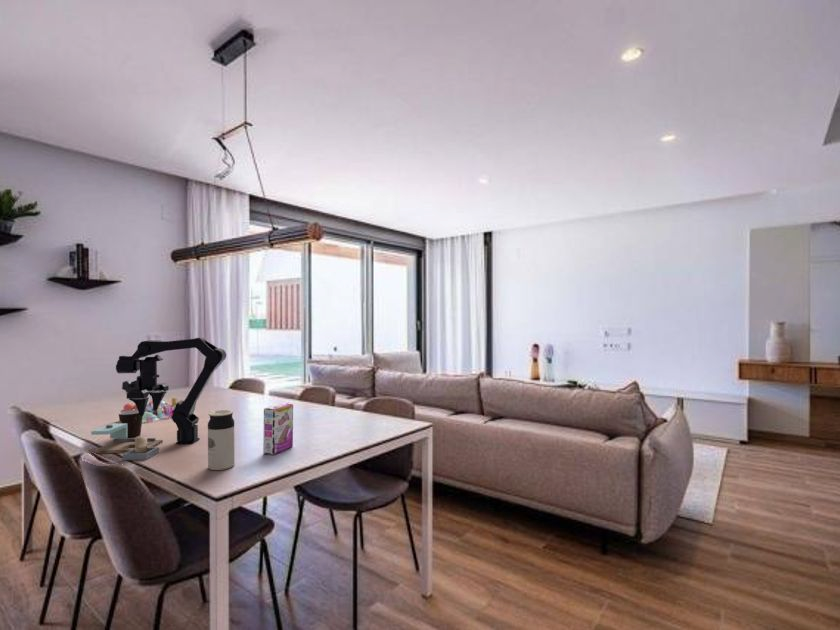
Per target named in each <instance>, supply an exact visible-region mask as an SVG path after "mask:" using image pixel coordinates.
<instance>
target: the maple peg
mask: <svg viewBox="0 0 840 630" xmlns="http://www.w3.org/2000/svg"><path fill="white" fill-rule="evenodd" d="M147 438H148V436H144V435H142V436H141V435H140V436H139V437H135V447H134V448H135V454H139V453H147Z"/></svg>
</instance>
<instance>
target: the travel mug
mask: <svg viewBox="0 0 840 630" xmlns="http://www.w3.org/2000/svg"><path fill="white" fill-rule="evenodd" d="M233 413H234V410H233V409H219V410H212V411H210V412H209V413H208V416H209V421H208V422H207V469H209V470H211V471H222V470H223V471H224V470H228V469H231V468H232V467H233V466H235V464H236V463H235V460H236V459H235V453H236V452H235V419H234V417H233Z"/></svg>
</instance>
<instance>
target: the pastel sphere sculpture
mask: <svg viewBox="0 0 840 630" xmlns="http://www.w3.org/2000/svg"><path fill="white" fill-rule="evenodd" d="M177 400H178V398H177V397H172V398H171V403H169V402H168V401H164V400H162V401H161V403H160V405H159V407H158V409H157V410H156V411H154V409H153V402H152V400H150V402H148V403H147V406H146V409H145V413H144V415H143V418H142V424H145V423H144V422H150V423H154V422H153V421H156V422H159V421H161V419H162V420H170V419H169V418H171V419H172V414H173V413H171V412H172V411H173V410H174V409H175V406H176V404H177V403H178V402H180V401H182V400H183V399H181V400H179V401H177ZM129 410H138V409H137V407H136V405H135V404H134V405H133V403H130V402H129V403H126V404H124V406H123V409H121V410H120V412H123V411H129ZM158 420H159V421H158Z"/></svg>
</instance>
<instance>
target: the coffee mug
mask: <svg viewBox="0 0 840 630" xmlns="http://www.w3.org/2000/svg"><path fill="white" fill-rule="evenodd" d="M118 418H119V419H118V420H119V424H124V423H127V424H128V438H134V437H135V438H136V437H138V436H139V437H141V433H142V426H143V423H142V418H143V416H140V414H139V412H138V410H134V409H133V410H129V411H123V412H121V411H120V412H118Z"/></svg>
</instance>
